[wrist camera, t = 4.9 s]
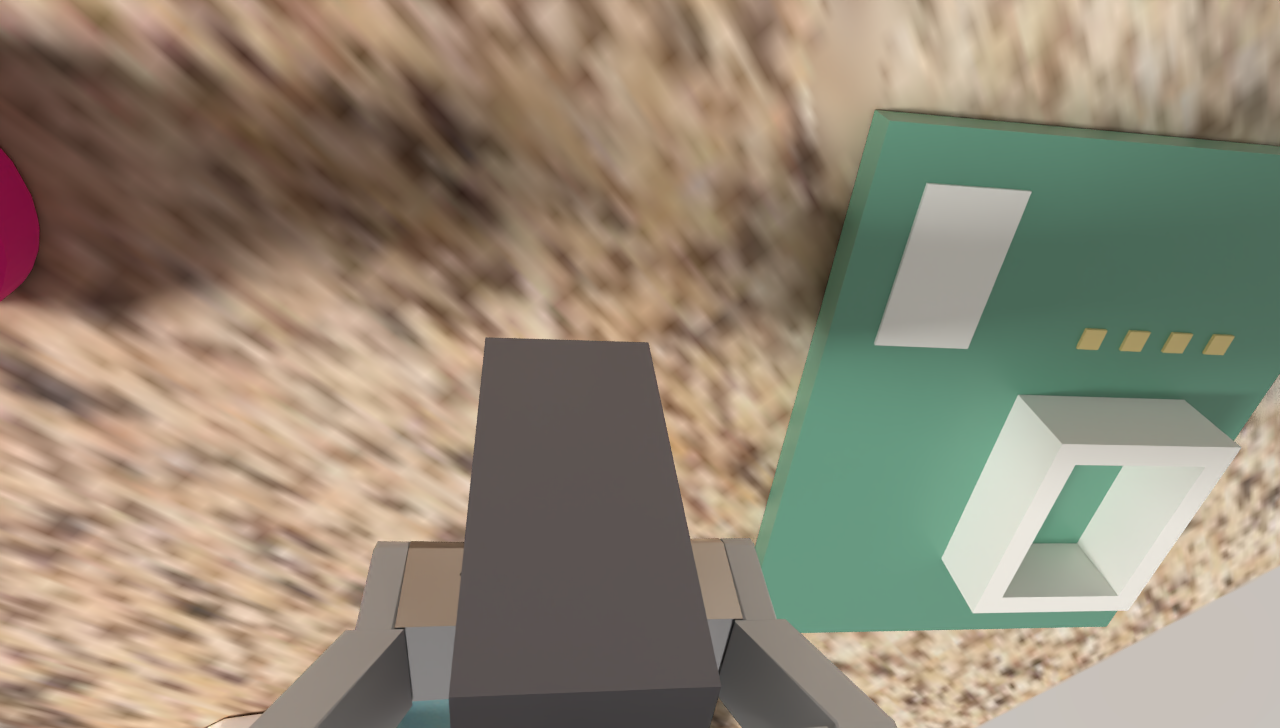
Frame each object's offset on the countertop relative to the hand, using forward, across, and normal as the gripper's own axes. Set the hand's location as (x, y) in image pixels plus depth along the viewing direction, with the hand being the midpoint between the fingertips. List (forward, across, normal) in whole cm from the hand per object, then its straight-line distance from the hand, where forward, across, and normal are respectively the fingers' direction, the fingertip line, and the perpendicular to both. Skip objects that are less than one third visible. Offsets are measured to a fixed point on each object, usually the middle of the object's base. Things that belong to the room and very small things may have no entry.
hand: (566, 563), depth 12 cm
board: (+10, -16, +5) cm, 20 cm away
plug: (+3, 0, 0) cm, 3 cm away
